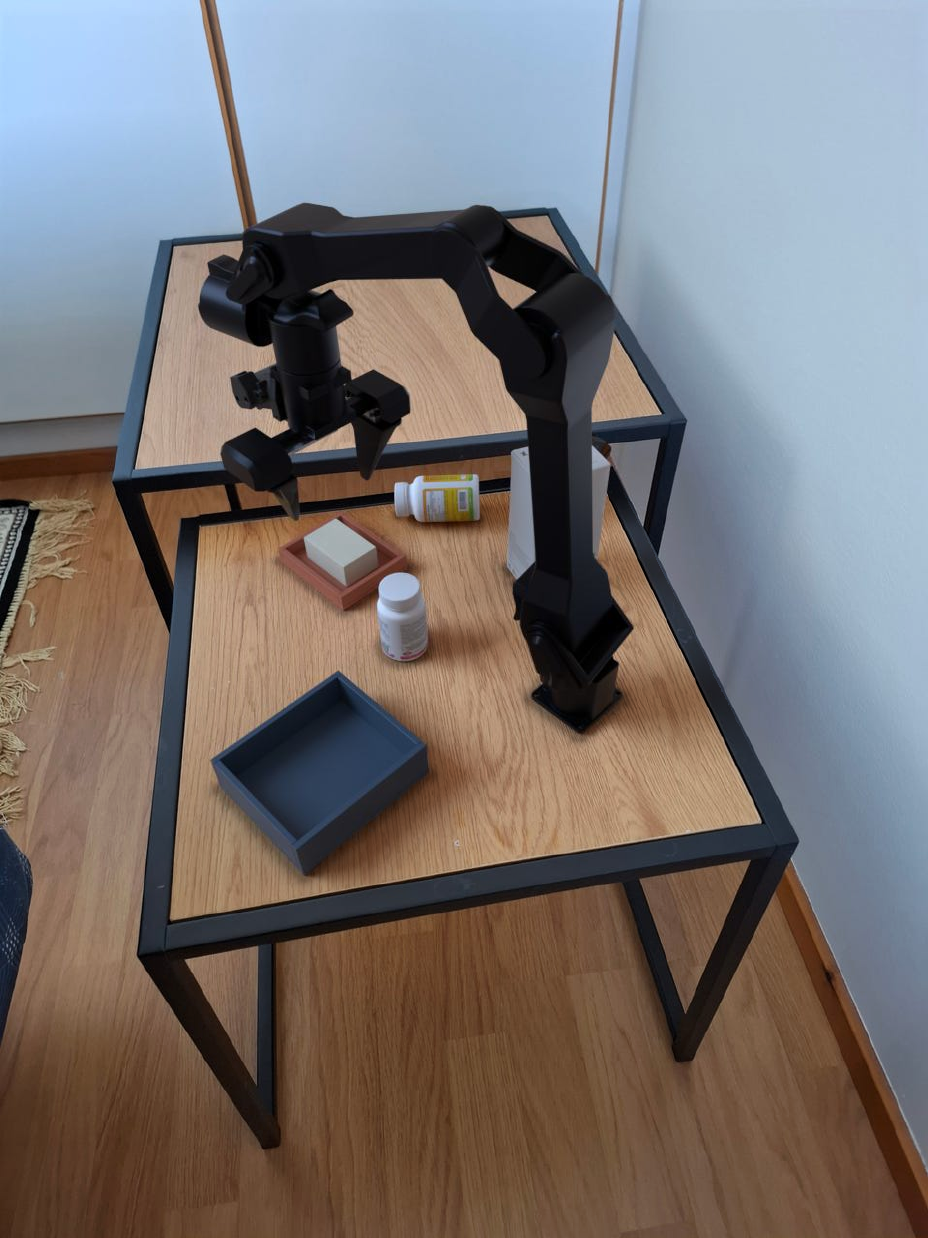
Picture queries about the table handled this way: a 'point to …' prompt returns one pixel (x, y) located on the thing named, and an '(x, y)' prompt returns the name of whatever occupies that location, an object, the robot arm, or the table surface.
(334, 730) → the box
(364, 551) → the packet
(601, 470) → the cosmetic box
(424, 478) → the supplement bottle
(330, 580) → the tray
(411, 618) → the pill bottle
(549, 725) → the table surface
